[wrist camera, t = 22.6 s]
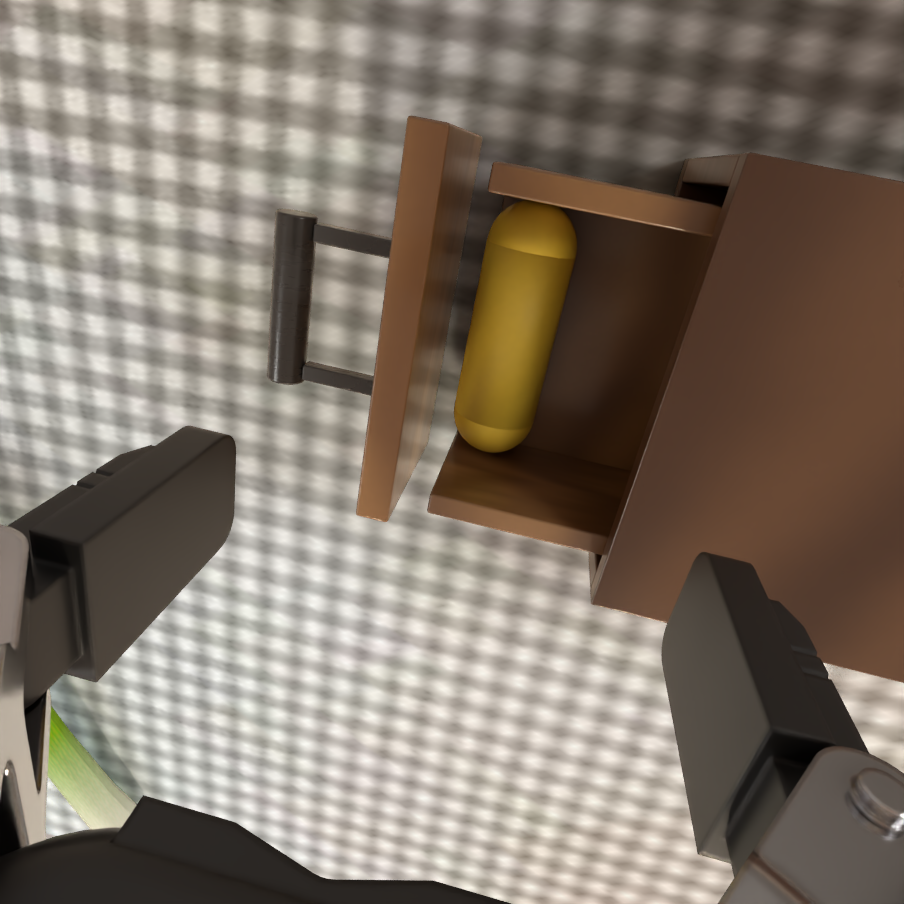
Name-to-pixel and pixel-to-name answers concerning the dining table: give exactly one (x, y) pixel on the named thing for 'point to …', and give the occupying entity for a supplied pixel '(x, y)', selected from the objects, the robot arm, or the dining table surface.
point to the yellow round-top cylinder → (514, 324)
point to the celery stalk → (84, 780)
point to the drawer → (573, 354)
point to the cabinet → (781, 412)
